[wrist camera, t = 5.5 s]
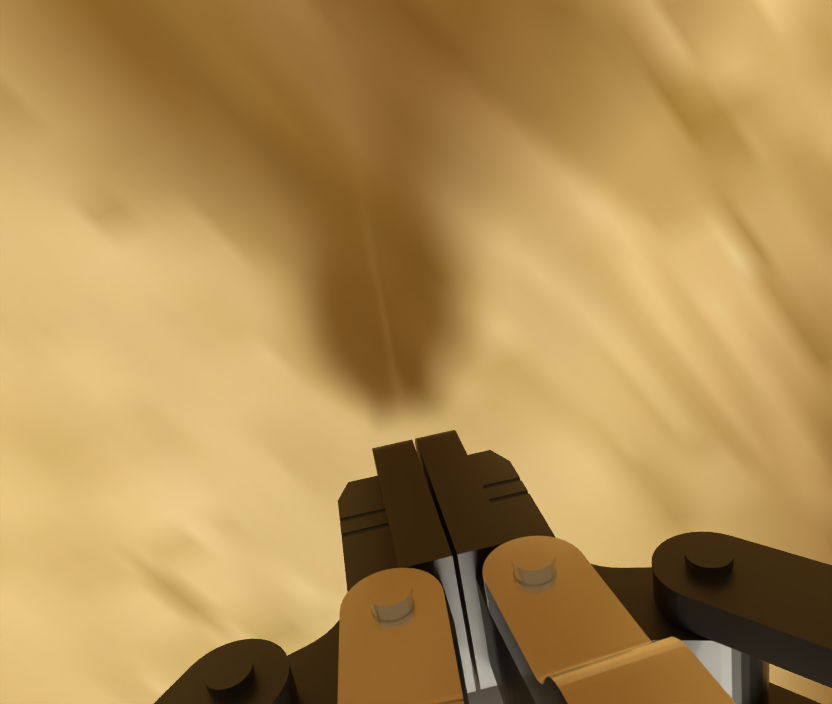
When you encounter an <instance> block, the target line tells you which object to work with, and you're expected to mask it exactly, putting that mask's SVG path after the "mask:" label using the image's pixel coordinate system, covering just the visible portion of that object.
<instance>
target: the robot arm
mask: <svg viewBox="0 0 832 704" xmlns="http://www.w3.org/2000/svg"><path fill="white" fill-rule="evenodd" d="M415 445H416V449H415V447H414V444H413V441H412V440H408V441H403V442H399V443H395V444H390V445H386V446H381V447H377V448H372V450H373V455H374V460H375V465H376V470H377V474H378V476H374V477H370V478H365V479H361V480H356V481H352V482H348V484H347V485H346V487H345V489H344V491H343V493H342V494H341V496H340V498H339V500H338V506H339V515H340V525H341V534H342V544H343V553H344V562H345V572H346V581H347V590H348V592H347V594H346V595H345V597H344V599H343V601H342V603H341V607H340V620H339V621H338V622H337V623H336V624H335V626H334V627H333V628H332V629H331V630H330V631H328V632H327V633H326V634H325V635H324V636H322V637H321V638H319V639H318V640H316V641H315V642H313V643H311V644H309V645H308V646H306V647H304V648H302V649H300V650H298V651H296V652H294V653H292V654H290V655H288V656H287V655H286V653H285V652H284V650H283V649H282V648H281V647H280V646H278V645H277V644H275V643H273V642H270V641H267V640H262V639H245V640H239V641H234V642H231V643H228V644H225V645H223V646H221V647H218V648H216V649H214V650H213V651H211V652H209V653H207V654H206V655H204V656H203V657H202V658H200V659H199V660H198V661H197V662H195V663H194V664H193V665H192V666H191V667H190V668H189V669H188V670H187V671H186V672H185V673H184V674H183V675H182V676H181V677H180V678H179V679H178V680H177V681H176V682H175V683H174V684H173V685H172V686H171V687H170V688H169V689H168V690H167V691H166V692H165V693H164V694H163V695H162V696H161V697H160V698H159V699H158V700H157V701H156V702H155V703H154V704H469V699H468V694H467V693H470V692H474V691H476V687H475V681H474V676H473V670H472V664H473V667H474V670H475V673H476V676H477V680H478V683H479V686H480V689H485V688H489V687H492V686H496V685H497V686H498V688H499V691H500V694H501V697H502V700H503V704H821V703H818V702H816V701H813V700H811V699H808V698H806V697H804V696H801V695H799V694H796V693H794V692H792V691H789V690H787V689H784V688H782V687H779V686H777V685H775V684H772V683H770V682H769V663H770V664H773V665H775V666H778V667H780V668H783V669H785V670H788V671H790V672H793V673H795V674H798V675H800V676H803V677H805V678H808V679H810V680H813V681H815V682H818V683H821V684H823V685H826V686H828V687H831V688H832V565H828V564H825V563H821V562H818V561H815V560H811V559H808V558H804V557H801V556H797V555H794V554H791V553H787V552H784V551H780V550H777V549H774V548H770V547H767V546H763V545H760V544H757V543H753V542H750V541H746V540H743V539H740V538H736V537H733V536H729V535H725V534H721V533H714V532H691V533H685V534H680V535H677V536H674V537H672V538H669V539H667V540H666V541H664V542H663V543H661V544H660V545H659V546H658V547H657V548H656V550H655V551H654V553H653V556H652V567H651V568H610V567H602V566H597V565H593V564H590V563H589V561H588V560H587V559H586V557H585V556H584V555H583V554H582V552H581V551H580V550H579V549H578V548H576V547H575V546H574V545H572V544H570V543H568V542H566V541H564V540H561V539H558V538H556V537H555V536H554V534H553V532H552V531H551V529H550V527H549V526H548V524H547V522H546V521H545V519H544V517H543V516H542V514H541V512H540V511H539V509H538V507H537V506H536V504H535V502H534V501H533V499H532V497H531V496H530V494H528V491H527V489H526V487H525V486H524V484H523V482H522V481H520V477H519V476H518V474H517V472H516V471H515V469H514V467H513V466H512V464H511V462H510V461H509V460H507V459H505V458H503V457H502V456H500V455H498V454H496V453H494V452H493V451H491V450H488V451H484V452H479V453H475V454H471V455H467V453H466V451H465V449H464V447H463V445H462V443H461V441H460V439H459V437H458V435H457V433H456V431H455V430H452V431H448V432H443V433H439V434H434V435H430V436H425V437H421V438H416V439H415ZM470 657H471V659H470ZM471 661H472V664H471Z"/></svg>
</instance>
